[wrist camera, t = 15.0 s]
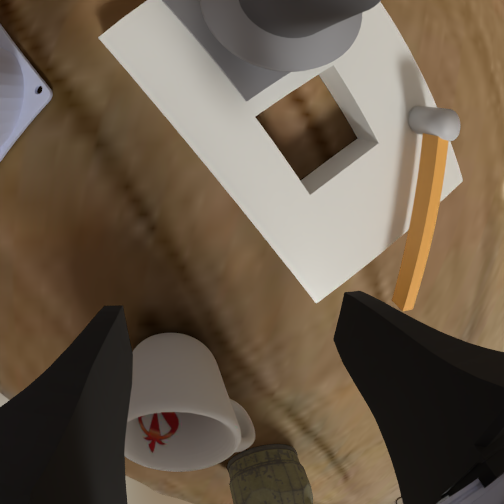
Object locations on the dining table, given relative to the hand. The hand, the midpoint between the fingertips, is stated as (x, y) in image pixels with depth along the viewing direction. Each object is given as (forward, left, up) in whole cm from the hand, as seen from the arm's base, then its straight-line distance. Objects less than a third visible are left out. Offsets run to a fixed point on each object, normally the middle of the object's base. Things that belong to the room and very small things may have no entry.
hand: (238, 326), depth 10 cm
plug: (-8, +9, -8) cm, 14 cm away
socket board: (-2, +9, -10) cm, 14 cm away
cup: (+8, -9, -11) cm, 16 cm away
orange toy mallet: (+6, +11, -8) cm, 15 cm away
